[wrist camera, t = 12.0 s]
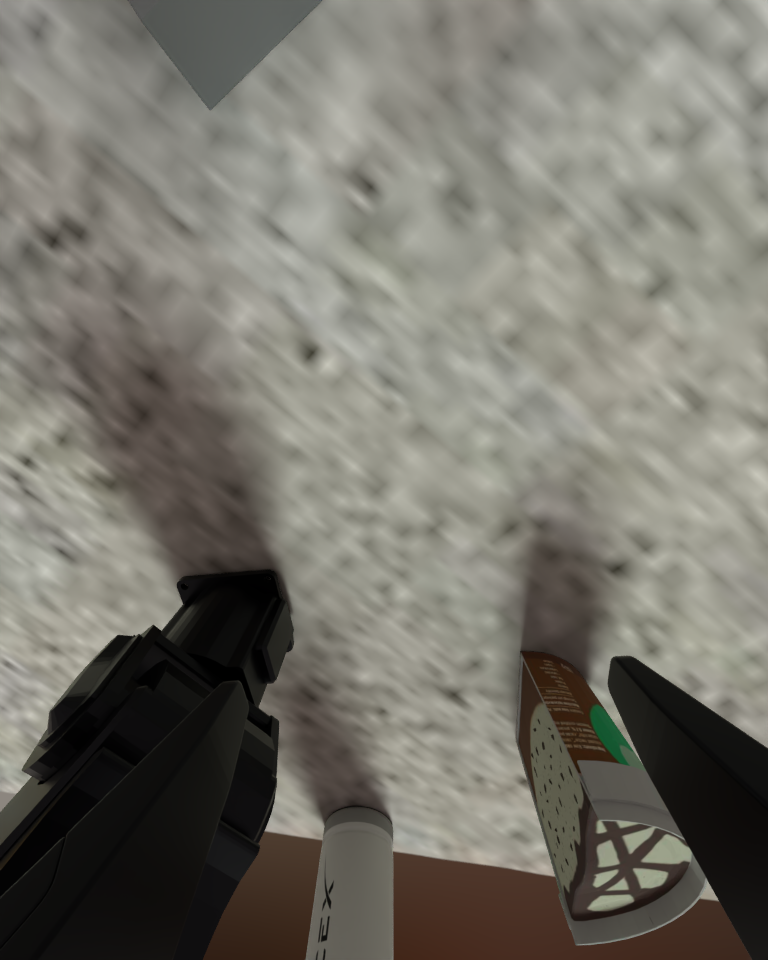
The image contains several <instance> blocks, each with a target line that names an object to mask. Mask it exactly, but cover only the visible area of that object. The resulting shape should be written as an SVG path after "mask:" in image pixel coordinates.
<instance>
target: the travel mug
mask: <svg viewBox="0 0 768 960" xmlns="http://www.w3.org/2000/svg"><path fill="white" fill-rule="evenodd" d="M306 960H393V827H392V825H391V822H390V821H389V820H388V818H387V817H386V816H384V815H383V814H382V813H380V812H378V811H376V810H373V809H370V808H366V807H348V808H344V809H341V810H339V811H337V812H335V813H333V814H332V815H331V816H330V817H329V818H328V819H327V821H326V823H325V828H324V835H323V842H322V849H321V856H320V863H319V870H318V877H317V884H316V891H315V898H314V906H313V912H312V919H311V927H310V934H309V941H308V948H307V955H306Z"/></svg>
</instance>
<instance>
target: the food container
mask: <svg viewBox="0 0 768 960" xmlns="http://www.w3.org/2000/svg"><path fill="white" fill-rule="evenodd" d="M516 743H517V746H518V750H519V753H520V757H521V760H522V764H523V767H524V770H525V774H526V777H527V781H528V784H529V787H530V791H531V794H532V798H533V801H534V805H535V808H536V811H537V815H538V818H539V822H540V825H541V829H542V832H543V835H544V839H545V842H546V846H547V849H548V852H549V856H550V859H551V863H552V866H553V870H554V873H555V876H556V880H557V883H558V887H559V890H560V894H559V899H560V902H561V904H562V907H563V910H564V913H565V916H566V919H567V922H568V925H569V928H570V929H571V931H572V934H573V938H574V941H575V944H576V945H592V944H601V943H609V942H614V941H619V940H624V939H628V938H632V937H635V936H639V935H642V934H645V933H647V932H650V931H653V930H655V929H657V928H660V927H662V926H664V925H666V924H668V923H670V922H672V921H673V920H675V919H676V918H678V917H679V916H681V915H683V914H684V913H685V912H686V911H687V910H688V909H690V908H691V907H692V906H693V905H694V904H695V903H696V902H697V900H698V899H699V898H700V897H701V895H702V893H703V892H704V890H705V888H706V885H707V881H708V880H707V879H706V877H705V875H704V873H703V871H702V870H701V868H700V866H699V864H698V863H697V861H696V859H695V857H694V855H693V854H692V852H691V850H690V848H689V847H688V845H687V843H686V841H685V839H684V838H683V836H682V834H681V832H680V831H679V829H678V827H677V825H676V823H675V822H674V820H673V818H672V816H671V815H670V813H669V811H668V809H667V807H666V806H665V804H664V802H663V800H662V799H661V797H660V795H659V793H658V792H657V790H656V788H655V786H654V784H653V783H652V781H651V779H650V777H649V775H648V773H647V772H646V770H645V768H644V766H643V764H642V763H641V761H640V760H639V758H638V757H637V756H636V754H635V753H634V751H633V750H632V748H631V747H630V745H629V744H628V742H627V741H626V739H625V738H624V737H623V735H622V734H621V732H620V731H619V729H618V728H617V726H616V725H615V723H614V722H613V721H612V719H611V718H610V716H609V715H608V713H607V712H606V710H605V709H604V707H603V706H602V705H601V703H600V702H599V700H598V699H597V697H596V696H595V694H594V693H593V691H592V690H591V688H590V687H589V686H588V684H587V683H586V681H585V680H584V678H583V677H582V675H581V674H580V673H579V671H578V670H577V669H576V668H575V667H574V666H573V665H571V664H570V663H569V662H567V661H565V660H563V659H562V658H559V657H557V656H554V655H551V654H547V653H542V652H534V651H520V669H519V690H518V711H517V731H516Z"/></svg>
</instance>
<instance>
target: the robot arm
mask: <svg viewBox="0 0 768 960" xmlns="http://www.w3.org/2000/svg"><path fill="white" fill-rule="evenodd" d="M266 577H270V578H271V580H270V579H267V578H266ZM185 584H187V585H188V586H186V585H185ZM177 588H178V591H179V594H180V596H181V599H182V602H183V605H182V607H181V608H180V609H179V610H178V612H177V613H176V614H175V615H174V616H173V618H172V619H171V620H170V621H169V623H168V624H167V625H166V626H165V628H164V629H163V630H162V631H161V630H159V629H158V628H157V627H156V626H154V625H152V626H151V627H150V628H148V629H147V630H146V631H145V632H144V633H142V634H141V635H140V634H138V635H137V636H135V635H133V636H124V635H117V636H116V637H115V638H114V639H113V640H111V641H110V642H109V643H108V644H107V645H106V646H105V648H104V649H103V650H102V651H101V652H100V653H99V654H98V655H97V656H96V657H95V658H94V659H93V660H92V661H91V662H90V663H89V664H88V665H87V666H86V667H85V669H84V670H83V671H82V672H81V673H80V674H79V675H78V676H77V678H76V679H75V680H74V681H73V683H72V684H71V685H70V686H69V688H68V689H67V690H66V691H65V693H64V694H63V695H62V696H61V698H60V699H59V700H58V701H57V703H56V704H55V705H54V707H53V708H52V709H51V710H50V712H49V719H48V728H47V730H46V731H45V733H44V734H43V736H42V738H41V739H40V741H39V743H38V744H37V746H36V747H35V749H34V751H33V752H32V754H31V755H30V757H29V758H28V760H27V762H26V763H25V765H24V766H23V768H22V771H23V772H25V773H27V774H29V775H30V776H32V777H31V778H30V779H29V781H28V782H27V783H26V784H25V785H24V786H23V787H22V788H21V790H20V791H19V792H18V793H17V794H16V795H15V796H14V797H13V799H12V800H11V801H10V802H9V803H8V804H7V805H6V807H4V809H3V810H2V811H1V812H0V960H203V957H204V955H205V952H206V950H207V948H208V945H209V943H210V940H211V938H212V936H213V934H214V931H215V929H216V927H217V925H218V922H219V920H220V918H221V916H222V913H223V911H224V910H225V908H226V906H227V904H228V902H229V900H230V898H231V896H232V895H233V892H234V891H235V889H236V887H237V885H238V884H239V882H240V880H241V879H242V877H243V876H244V874H245V873H246V871H247V870H248V868H249V867H250V865H251V864H252V862H253V861H254V859H255V858H256V856H257V855H258V852H259V849H260V845H259V844H258V843H259V841H260V839H261V837H262V835H263V833H264V831H265V829H266V826H267V823H268V821H269V818H270V815H271V812H272V808H273V805H274V800H275V792H276V788H277V778H276V775H277V756H278V736H279V721H278V720H277V719H276V718H274V717H273V716H272V715H271V716H268V715H267V714H266V713H264V712H263V711H262V710H261V709H259V708H258V707H259V705H260V702H261V699H262V697H263V694H264V691H265V688H266V686H267V684H270V683H274V682H275V680H276V679H277V677H278V674H279V671H280V668H281V665H282V662H283V659H284V657H285V654H286V652H289V651H291V650H292V648H293V645H294V640H293V636H292V634H293V631H294V629H293V625H292V621H291V617H290V613H289V609H288V605H287V602H286V600H285V599H283V597H282V593H281V589H280V585H279V582H278V578H277V575H276V573H275V572H274V571H272V570H258V571H246V572H234V573H222V574H210V575H198V576H186V577H183V578H181V579H180V581H179V582H178V583H177ZM608 688H609V691H610V694H611V696H612V698H613V701H614V703H615V705H616V707H617V709H618V712H619V714H620V716H621V718H622V720H623V723H624V725H625V727H626V729H627V731H628V734H629V736H630V738H631V740H632V742H633V744H634V747H635V749H636V751H637V753H638V755H639V758H640V760H641V762H642V764H643V766H644V768H645V770H646V772H647V773H648V775H649V777H650V779H651V781H652V783H653V784H654V786H655V788H656V790H657V792H658V793H659V795H660V797H661V799H662V800H663V802H664V804H665V806H666V807H667V809H668V811H669V813H670V815H671V816H672V818H673V820H674V822H675V823H676V825H677V827H678V829H679V831H680V832H681V834H682V836H683V838H684V839H685V841H686V843H687V845H688V847H689V848H690V850H691V852H692V854H693V855H694V857H695V859H696V861H697V863H698V864H699V866H700V868H701V870H702V871H703V873H704V875H705V877H706V879H707V880H708V882H709V884H710V886H711V887H712V889H713V891H714V893H715V895H716V896H717V898H718V900H719V902H720V903H721V905H722V907H723V908H724V910H725V912H726V914H727V916H728V917H729V919H730V921H731V922H732V925H733V926H734V928H735V930H736V932H737V933H738V935H739V937H740V939H741V941H742V943H743V944H744V946H745V948H746V950H747V951H748V953H749V955H750V957H751V958H752V960H768V748H767V747H765V746H764V745H762V744H761V743H759V742H758V741H756V740H755V739H753V738H752V737H750V736H749V735H748V734H746V733H745V732H743V731H742V730H740V729H739V728H737V727H736V726H734V725H733V724H731V723H730V722H728V721H727V720H725V719H724V718H723V717H721V716H720V715H718V714H717V713H715V712H714V711H712V710H711V709H709V708H708V707H706V706H705V705H703V704H702V703H700V702H699V701H697V700H696V699H695V698H693V697H692V696H690V695H689V694H687V693H686V692H684V691H683V690H681V689H680V688H678V687H677V686H675V685H674V684H672V683H671V682H669V681H668V680H667V679H665V678H664V677H662V676H661V675H659V674H658V673H656V672H655V671H653V670H652V669H650V668H649V667H647V666H646V665H644V664H643V663H642V662H640V661H639V660H637V659H636V658H634V657H632V656H615V657H613V658H612V659H611V662H610V669H609V676H608Z"/></svg>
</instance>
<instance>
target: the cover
mask: <svg viewBox="0 0 768 960" xmlns="http://www.w3.org/2000/svg"><path fill="white" fill-rule="evenodd" d="M128 1H129V3H130V4H131V6H132V7H133V9H134V11H135V12H136V14H137V15H138V17H139V18H140V20H141V21H142V23H143V24H144V25H145V27H146V28H147V29H148V30H149V32H150V33H151V34H152V36H153V37H154V38H155V40H156V41H157V42H158V43H159V45H160V46H161V47H162V49H163V50H164V51H165V53H166V54H167V55H168V56H169V58H170V59H171V60H172V62H173V63H174V64H175V66H176V67H177V68H178V70H179V71H180V72H181V73H182V75H183V76H184V77H185V79H186V80H187V81H188V83H189V84H190V85H191V86H192V88H193V89H194V90H195V92H196V93H197V94H198V96H199V97H200V98H201V99H202V101H203V102H204V103H205V105H206V106H207V107H208V109H209V110H211V109H212V108H213V107H214V106H215V105H216V104H217V103H218V102H219V101H220V100H221V99H222V98H223V97H224V96H225V95H226V94H227V93H228V92H229V91H230V90H231V89H232V88H233V87H234V86H235V85H236V84H237V83H238V82H239V81H240V80H242V79H243V78H244V77H245V76H246V75H247V74H248V73H249V72H250V71H251V70H252V69H253V68H254V67H255V66H256V65H257V64H258V63H259V62H260V61H261V60H262V59H263V58H264V57H265V56H266V55H267V54H268V53H269V52H270V51H271V50H272V49H273V48H274V47H275V46H276V45H277V44H278V43H279V42H280V41H281V40H282V39H283V38H284V37H285V36H286V35H287V34H288V33H289V32H290V31H291V30H292V29H293V28H294V27H295V26H296V25H297V24H298V23H299V22H300V21H302V20H303V19H304V18H305V17H306V16H307V15H308V14H309V13H310V12H311V11H312V10H313V9H314V8H315V7H316V6H317V5H318V4H319V3H320V2H321V1H322V0H128Z"/></svg>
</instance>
